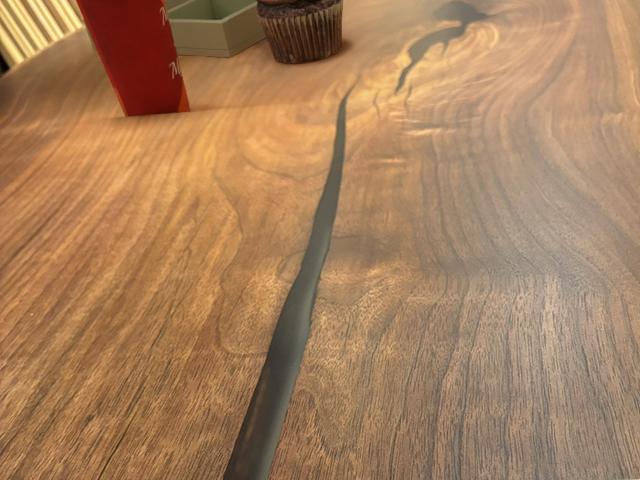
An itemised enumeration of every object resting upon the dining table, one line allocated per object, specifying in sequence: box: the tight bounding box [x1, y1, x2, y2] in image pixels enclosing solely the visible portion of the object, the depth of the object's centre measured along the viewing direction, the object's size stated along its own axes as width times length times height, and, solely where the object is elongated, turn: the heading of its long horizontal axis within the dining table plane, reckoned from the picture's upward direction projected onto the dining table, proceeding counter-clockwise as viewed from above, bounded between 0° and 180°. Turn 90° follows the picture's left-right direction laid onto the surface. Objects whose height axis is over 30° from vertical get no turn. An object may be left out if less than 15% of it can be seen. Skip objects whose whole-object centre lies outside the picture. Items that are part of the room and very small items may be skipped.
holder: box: [82, 0, 266, 58], centre depth 91 cm, size 12×23×4 cm, turn 61°
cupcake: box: [255, 0, 344, 64], centre depth 79 cm, size 10×10×10 cm
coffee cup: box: [75, 0, 191, 118], centre depth 66 cm, size 8×8×15 cm
